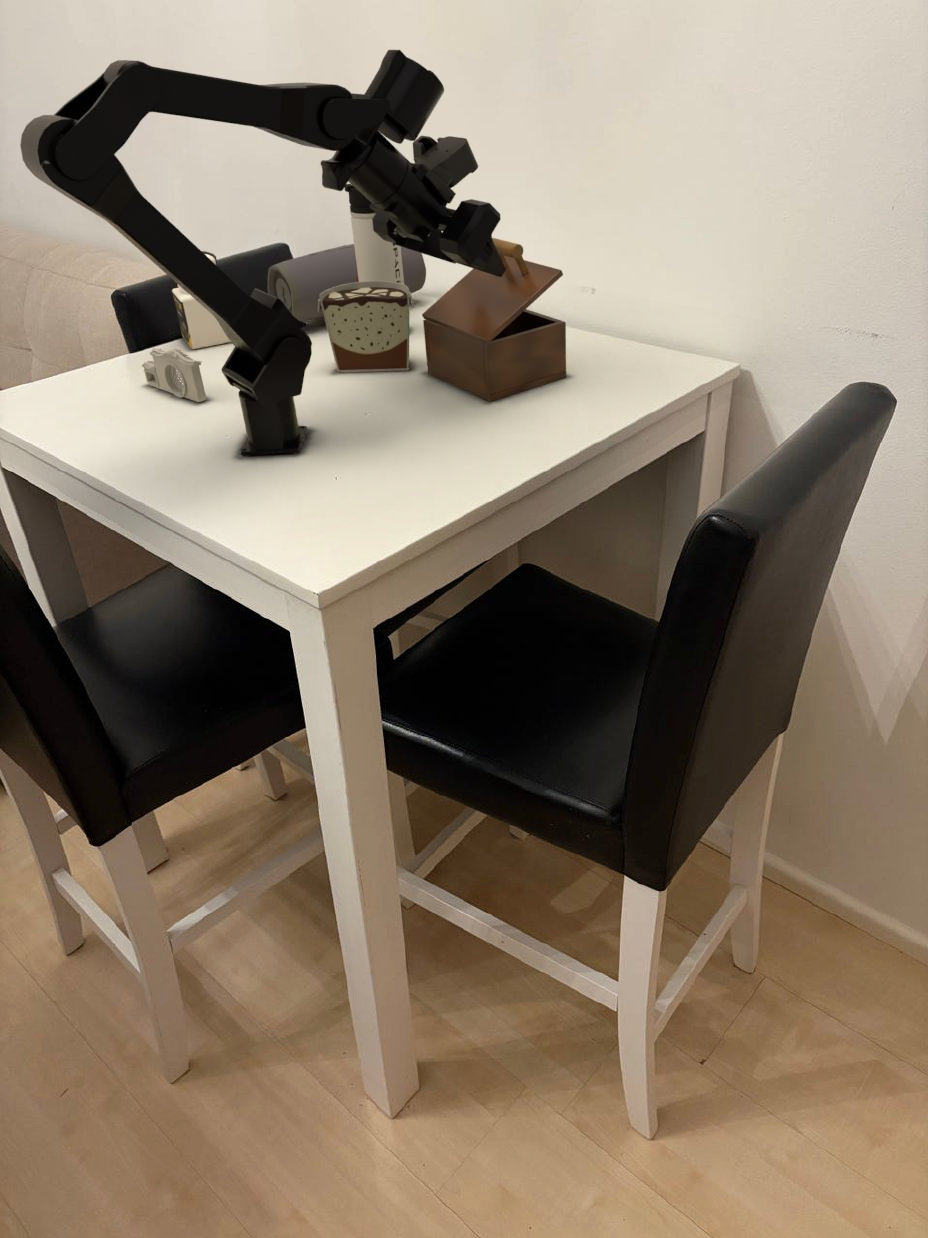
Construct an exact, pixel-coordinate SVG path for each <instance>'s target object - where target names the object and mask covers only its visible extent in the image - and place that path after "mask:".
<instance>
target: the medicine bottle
mask: <svg viewBox="0 0 928 1238" xmlns="http://www.w3.org/2000/svg"><path fill="white" fill-rule="evenodd" d="M201 251H202V252H203V253H204V254H205V255H206V256H207V257H208V258H209V259H210V260H211V261H212V262H213V263H214V264H216V265H217V266H218V267H219V265H218V260H217V256H216V255H215V254H214V253H211V252H209V251H205V250H201ZM171 293H172V297H173V302H174V306H175V311H176V315H177V319H178V324H179V328H180V332H181V336H182V338H183V339H184V340H185V342H186V343H187V344H188V346H189V347H190V348H191V349H192V350H198V349H203V348H208V347H212V346H218V345H223V344H228V343H232V342H231V341H230V340H229V338H228V337H227V336H226V334H225V332H224V331H223V329H222V327H221V326H220V324H219V322H218V321H217V319H216V318H215V317H214V316H213V315H212V314H211V313H210V312H209V311H208V310H207V309H205V308H204V307H203V306H202V305H201V304H200V303H199V302H198V301H196V300H195V299H194V298H193V297H192V296H191V295H190V294H189V293H187V292H186V291H185V290H184V289H183V288H182V287H181V286H179V285H178V284H177V287H175V288H172V289H171Z"/></svg>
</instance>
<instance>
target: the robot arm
mask: <svg viewBox="0 0 928 1238" xmlns="http://www.w3.org/2000/svg"><path fill="white" fill-rule="evenodd" d="M444 93H445V87H444V85H443V83H442V82H441V80H440V79H439V77H438V76H437V74H435V73H434V72H433V71H432V70H429V69H427V68H426V67H424V66H423V65H422V64H420V63H419V62H417V61H415V60H414V59H413V58H410V57H407V55H405V54H404V52H403V51H402V50H401V49H388V50H387V51H386V53H385V54H384V56H383V58H382V60H381V63H380V66H379V68H378V70H377V72H376V74H375V76H374V77H373V79H372V81H371V82H370V84H369V86H368V87H367V89H366V91H365V92H364V93H352V92H351V91H350V90H349V89H347V88H346V87H344V86H341V85H339V84H331V83H330V84H329V83H317V82H285V83H284V82H283V83H281V82H280V83H269V84H256V83H250V82H244V81H238V80H233V79H227V78H221V77H215V76H211V75H210V76H209V75H204V74H199V73H192V72H188V71H187V72H186V71H181V70H175V69H169V68H163V67H157V66H152V65H149V64H148V63H145V62H144V61H141V60H129V59H118V60H115V61H114V62H111V63H110V64H109V65H108V66H107V67H106V69H105V71H104V72H102V73H101V74H100V75H99V76H98V77H97V78H96V79H95V80H94V81H93V82H91V83H90V84H89V85H87V86H86V87H85V88H84V89H82V90H80V92H78V93H77V94H76V95H74V96H73V97H71V99H69V100H68V101H66V102H65V103H64V104H62V106H60V108H59V109H58V110H57V111H55V113H54V114H43V115H39V116H37V117H34V118H33V119H32V120H30V121H29V122H28V123H27V124H26V126H25V128H24V129H23V131H22V133H21V138H20V151H21V158H22V161H23V163H24V165H25V167H26V168H27V169H28V170H29V172H30V173H31V174H32V175H33V176H34V177H35V178H37V179H38V180H39V181H41V182H43V183H44V184H46V185H47V186H48V187H51V188H52V189H54V190H55V191H57V192H58V193H60V194H62V195H63V196H64V197H66V198H68V199H70V200H71V201H73V202H74V203H76V204H77V205H80V206H81V207H83V208H84V209H86V210H88V211H90V212H91V213H93V214H95V215H96V216H98V217H99V218H101V219H103V220H104V221H106V222H107V223H108V224H109V225H110V226H112V227H113V228H114V229H115V230H116V231H117V232H118V233H119V234H121V236H123V237H124V238H125V239H126V240H127V241H128V242H129V243H131V244H132V245H133V246H134V247H135V248H136V249H138V250H139V252H141V253H142V254H143V255H144V256H145V257H147V259H149V260H150V261H151V262H152V263H153V264H154V265H156V267H158V268H159V269H160V270H161V271H162V272H163V273H164V274H166V275H167V276H168V277H169V278H170V279H171V280H172V281H174V282H175V283H176V284H177V286H178V285H179V286H181V287H182V288H183V289H184V290H185V291H186V292H187V293H189V294H190V295H191V296H192V297H193V298H194V299H195V300H196V301H198V302H199V303H200V304H201V305H202V306H203V307H204V308H205V309H207V310H208V311H209V312H210V313H211V314H212V315H213V316H214V317H215V318H216V319H217V321H218V322H219V324H220V326H221V327H222V329H223V331H224V332H225V334H226V336H227V337H228V338H229V340H230V341H231V342H230V343H232V345H233V346H234V347H233V348H232V351H231V352H230V354H229V356H228V357H227V358H226V361H225V362H224V364H223V366H222V367H221V373H222V374H223V377H224V378H225V379H226V381H227V383H228V384H229V385H230V386H232V387H234V388H236V389H237V390H239V391H238V398H239V403H240V408H241V413H242V416H243V422H244V423H243V424H244V428H245V432H246V438H245V440H244V441H243V444H242V446H241V447H240V450H239V453H240V455H241V456H256V455H257V456H258V455H275V454H278V455H279V454H293V453H295V454H296V453H299V452H300V451H301V448H302V446H303V443H304V442H305V438H306V436H307V433H308V430H309V429H308V426H307V425H299V421H298V416H297V411H296V405H295V399H294V397H297V396H301V395H302V391H303V385H304V380H305V379H304V378H305V373H306V369H307V367H308V366H309V364H310V362H311V358H312V354H313V353H312V346H313V342H312V340H311V337H310V336H309V335H308V333H307V332H306V330H304V329H303V328H306V327H307V322H303V321H300V320H298V319H296V318H295V317H294V316H293V315H292V314H291V313H290V311H289V310H288V308H287V307H286V306H285V304H284V303H283V302H282V301H281V300H280V299H279V298H276V297H274V296H272V295H270V294H268V292H265V291H263V290H260V289H259V288H254V289H253V291H252V292H251V295H249V294H248V293H246V291H245V290H243V288H241V287H240V286H239V284H237V283H236V282H235V281H234V280H233V279H232V278H230V276H228V275H227V273H225V271H223V269H221V268H220V267H219V265H218V266H217V265H216V264H214V263H213V262H212V261H211V260H210V259H209V258H208V257H207V256H206V255H205V254H204V253H203V252H202V251H203V250H201V249H200V248H199V247H198V246H197V245H196V244H194V242H192V241H191V240H190V239H189V237H187V236H186V235H185V234H183V232H182V231H181V230H180V229H178V228H177V226H175V225H174V224H173V223H172V222H171V221H170V220H169V219H168V218H167V217H166V216H165V215H164V214H163V213H161V212H160V211H159V210H158V209H157V208H156V207H155V206H154V205H153V204H151V202H149V200H148V199H146V198H145V197H144V196H143V194H142V193H141V192H140V190H138V188H137V187H136V185H135V183H134V182H133V179H132V178H131V176H130V175H129V173H128V172H127V170H126V168H125V167H124V165H123V164H122V163H121V161H120V160H119V158H118V157H117V156H116V154H117V153H118V151H119V150H120V149H122V148H123V147H124V145H125V144H126V143H127V141H128V140H129V139H130V138H131V136H132V134H133V133H134V132H135V130H136V129H137V128H138V126H139V125H140V123H141V122H142V121H143V119H144V118H145V117H146V116H147V115H148V114H149V113H157V114H164V115H165V114H166V115H171V116H172V115H173V116H179V117H184V118H185V117H186V118H190V119H191V118H192V119H199V120H205V121H206V120H207V121H212V122H219V123H226V124H232V125H240V126H247V127H253V128H255V129H258V130H261V131H264V132H266V133H269V134H271V135H273V136H276V137H278V138H281V139H284V140H286V141H289V142H291V143H295V144H297V145H300V146H304V147H309V148H315V149H320V150H326V151H331V152H334V153H333V156H332V157H331V158H328V159H323V160H320V166H321V171H322V172H321V185H322V187H323V188H325V189H329V190H332V191H338V192H342V191H343V190H345V186H346V184H351V185H353V186H354V187H355V188H356V189H357V190H358V191H359V192H360V193H362V194H363V195H364V196H365V197H366V198H367V199H368V200H369V201H370V202H372V203H371V205H370V208H371V209H372V210H373V211H374V212H376V214H375V216H374V217H373V219H372V222H373V230H374V232H375V233H376V234H378V235H379V236H380V237H381V238H382V239H383V240H385V241H388V242H392V243H393V244H394V245H398V246H401V247H404V248H407V249H410V250H413V251H416V252H419V253H422V255H426V256H430V257H432V258H436V259H439V260H441V261H445V262H447V263H451V264H454V265H455V264H458V265H461V266H465V267H467V268H471V269H473V268H474V269H477V270H480V271H483V272H486V273H489V274H492V275H495V276H498V277H502V276H503V274H504V272H505V271H506V268H505V266H504V264H503V262H502V259H501V257H500V255H499V253H498V251H497V249H496V247H495V244H494V241H493V239H492V238H493V233H494V232H495V229H496V228H497V227H498V225H499V223H500V222H501V213H500V212H499V211H498V210H497V208H495V207H494V206H493V205H492V203H490V202H487V201H483V200H477V199H474V198H473V199H472V198H471V199H466V200H461V201H460V203H459V205H458V206H457V208H456V209H454V208H449V207H447V205H448V204H451V203H452V201H453V200H454V198H455V196H456V192H455V191H454V190H453V189H452V188H454V187H455V186H457V185H458V184H459V183H460V182H462V180H464V179H465V178H466V177H467V176H468V175H470V174H474V173H475V172H476V171H477V170H478V169H479V164H478V161H477V159H476V157H475V155H474V153H473V151H472V148H471V146H470V143H469V141H468V139H467V138H465V137H459V136H449V135H448V136H444V137H441V136H440V137H438V138H437V139H436V140H435V139H434V138H433V137H431V136H430V135H429V136H428V135H420V133H421V131H422V130H423V128H424V127H425V125H426V123H427V121H428V120H429V118H430V116H431V115H432V113H433V111H434V110H435V108H436V107H437V105H438V103H439V102H440V100H441V99H442V96H443V94H444ZM419 135H420V136H419ZM388 139H389V140H388ZM405 140H407V141H410V142H412V153H413V162H411V161H409V159H407V158H406V157H405V155H403V153H401V152H400V151H399V149H398V148H396V147H395V146H394V144H392V143H391V142H393V143H396V144H398V145H401V144H403V143H404V141H405ZM390 141H391V142H390Z"/></svg>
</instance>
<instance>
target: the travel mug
mask: <svg viewBox="0 0 928 1238" xmlns="http://www.w3.org/2000/svg"><path fill="white" fill-rule="evenodd" d="M344 191H345V192H346V193H348V199H349V200H348V202H349V213H350V222H351V230H352V237H353V244H354V247H355V255H356V263H357V271H358V279H359V282H363V281H391V282H397V283H401V284H404V276H403V266H402V256H401V246H398V245H394V244H393V243H392V242H388V241H385V240H383V239H382V238H381V237H380V236H379V235H378V234H376V233H375V232H374V230H373V222H372V219H373V217H374V216H375V214H376V212H374V211H373V210H372V209H371V208H370V205H371V203H372V202H370V201H369V200H368V199H367V198H366V197H365V196H364V195H363V194H362V193H360V192H359V191H358V190H357V189H356V188H355V187H354V186H353V185H352V184H351V183H347V184H346V186H345V187H344Z"/></svg>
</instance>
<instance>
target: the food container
mask: <svg viewBox="0 0 928 1238" xmlns="http://www.w3.org/2000/svg"><path fill="white" fill-rule="evenodd" d="M319 296H320V299H319V300H318V312H319V311H320V310H321V309H322V310H323V314H324V318H325V322H326V323H325V326H326V330H327V334H328V338H329V342H330V346H331V350H332V351H331V352H332V354H333V358H334V362H335V366H336V371H337V373H366V372H367V373H368V372H369V373H370V372H397V371H398V372H400V371H409V370H410V303H411V306H412V309H414V308H415V301H414V298H413V295H412V293H411V292H410V291H409V289H408V287H407V286H406V285H404V284H401V283H397V282H391V281H363V282H355V283H348V284H343V285H339V286H336V287H333V288H330V289H327V290H325V291H324V292H322V293H321V294H320V295H319Z"/></svg>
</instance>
